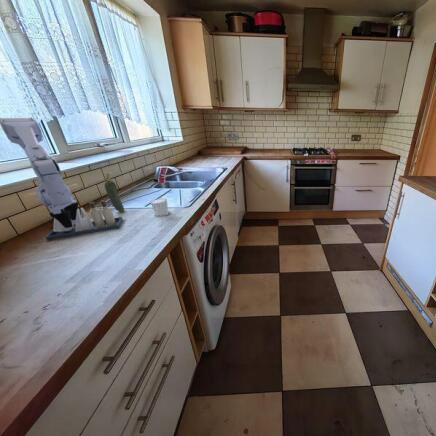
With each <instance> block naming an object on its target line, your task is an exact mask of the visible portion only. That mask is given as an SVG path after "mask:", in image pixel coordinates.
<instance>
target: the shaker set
mask: <svg viewBox="0 0 436 436" xmlns="http://www.w3.org/2000/svg"><path fill="white" fill-rule="evenodd" d="M81 215H82V217H81ZM53 226H54V227H53V229H54V232H68V231H71V230H72V229H73V228H75V231H76V232H77V231H83V230H89V229H91V228H95V227H94V225H93V223H92V220H91V218H90V217H89V214H88V213H87V211H86V210H85V209H84V207H80V209H79V208H78V209H77V213H76V224H75V227H74V225H73V223H72V227H70V228H65V227H64V226H63V225H62V224H61V223H60V222H59V221H58V220H56V219H55V218H53ZM82 228H83V229H82Z"/></svg>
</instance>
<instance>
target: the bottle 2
mask: <svg viewBox="0 0 436 436" xmlns="http://www.w3.org/2000/svg"><path fill="white" fill-rule="evenodd" d="M100 204H101V209H100V212H101V215H102V217H103V219H104V220H105V221H106V224H107V226H114V225H117V224H116V221H115V219H114V218H115V216H114V214H113V211H112V208H111V207H110V206H108V204H107V203H106V200H100Z"/></svg>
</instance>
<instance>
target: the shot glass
mask: <svg viewBox="0 0 436 436" xmlns="http://www.w3.org/2000/svg"><path fill="white" fill-rule="evenodd" d="M150 205H151V207H152V210H153V212H154V215H155V216H157V217H166V216H168V215H169V206H168V199H167V198H156V199H153V200H151V201H150Z"/></svg>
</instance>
